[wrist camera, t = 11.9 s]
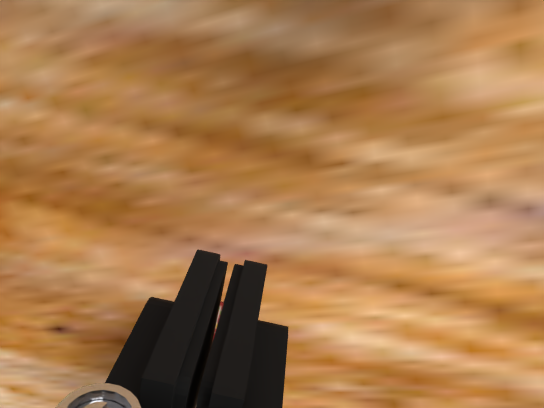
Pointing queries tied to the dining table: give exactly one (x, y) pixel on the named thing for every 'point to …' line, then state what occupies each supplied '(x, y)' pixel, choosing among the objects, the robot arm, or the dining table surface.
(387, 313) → the dining table surface
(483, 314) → the dining table surface
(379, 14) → the dining table surface
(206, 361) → the robot arm
